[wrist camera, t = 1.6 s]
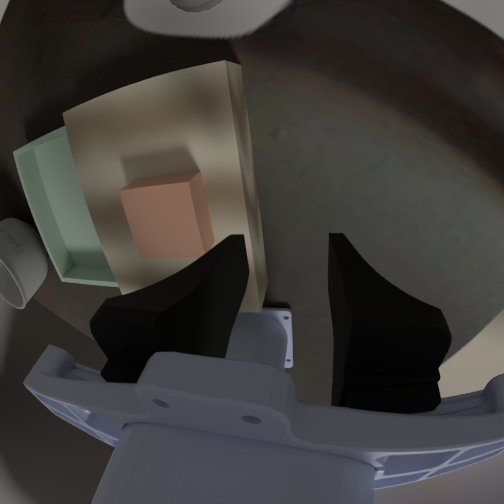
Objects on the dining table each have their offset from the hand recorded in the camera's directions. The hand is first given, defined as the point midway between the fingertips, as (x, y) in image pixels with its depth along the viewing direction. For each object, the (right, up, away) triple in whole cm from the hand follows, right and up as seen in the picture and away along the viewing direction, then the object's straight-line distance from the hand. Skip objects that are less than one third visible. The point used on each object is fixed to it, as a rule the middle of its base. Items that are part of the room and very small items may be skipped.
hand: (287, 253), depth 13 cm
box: (-19, +5, +12) cm, 23 cm away
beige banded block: (-7, +5, +10) cm, 13 cm away
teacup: (-33, +2, +18) cm, 37 cm away
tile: (-7, +3, +6) cm, 10 cm away
